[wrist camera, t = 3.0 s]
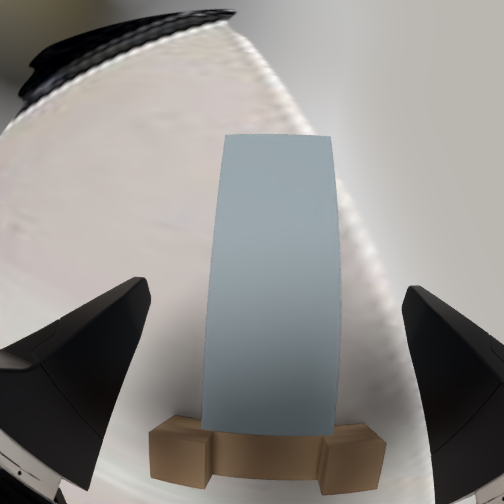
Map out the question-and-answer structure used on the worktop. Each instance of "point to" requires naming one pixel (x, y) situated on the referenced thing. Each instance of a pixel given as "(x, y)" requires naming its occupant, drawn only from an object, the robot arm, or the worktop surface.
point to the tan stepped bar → (266, 456)
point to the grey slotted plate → (274, 289)
